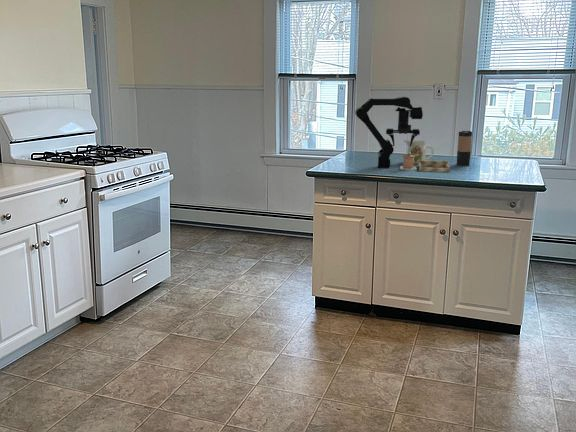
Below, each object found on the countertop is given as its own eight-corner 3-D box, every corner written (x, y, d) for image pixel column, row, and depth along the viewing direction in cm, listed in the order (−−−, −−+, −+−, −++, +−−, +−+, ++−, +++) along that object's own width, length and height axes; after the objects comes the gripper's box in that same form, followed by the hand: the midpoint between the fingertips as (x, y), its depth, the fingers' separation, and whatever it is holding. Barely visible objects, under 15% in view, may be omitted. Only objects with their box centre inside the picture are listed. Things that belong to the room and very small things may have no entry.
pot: (402, 168, 320) (403, 153, 318) (402, 166, 326) (402, 151, 324) (414, 168, 319) (415, 153, 317) (414, 166, 325) (415, 151, 323)
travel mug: (470, 166, 330) (473, 132, 325) (456, 166, 332) (459, 132, 326) (468, 164, 337) (471, 131, 332) (455, 164, 339) (458, 130, 334)
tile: (400, 170, 319) (400, 168, 319) (400, 167, 328) (400, 165, 328) (416, 170, 318) (416, 169, 318) (416, 168, 326) (416, 166, 326)
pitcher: (433, 165, 335) (435, 142, 332) (402, 164, 338) (403, 141, 334) (432, 162, 346) (433, 139, 342) (402, 161, 348) (403, 139, 345)
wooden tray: (419, 172, 314) (419, 165, 313) (418, 167, 330) (418, 160, 329) (449, 173, 311) (450, 165, 310) (447, 167, 327) (447, 161, 326)
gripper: (386, 120, 316) (385, 148, 320) (420, 120, 313) (419, 149, 317) (386, 118, 327) (385, 145, 331) (420, 119, 323) (418, 146, 327)
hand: (402, 146), depth 326 cm, fingers open, 9 cm apart
